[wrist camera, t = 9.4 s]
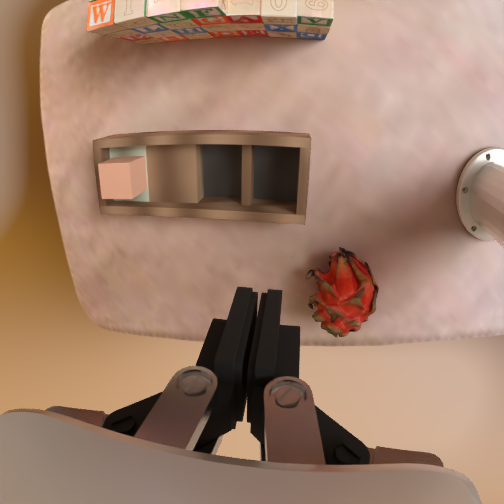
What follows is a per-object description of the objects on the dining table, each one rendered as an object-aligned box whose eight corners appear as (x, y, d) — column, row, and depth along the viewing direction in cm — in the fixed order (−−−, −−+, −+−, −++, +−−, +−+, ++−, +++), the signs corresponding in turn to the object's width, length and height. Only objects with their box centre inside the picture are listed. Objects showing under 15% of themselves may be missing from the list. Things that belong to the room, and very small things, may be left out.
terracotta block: (145, 155, 34) (129, 162, 31) (147, 189, 36) (132, 199, 33) (115, 156, 35) (98, 163, 31) (118, 188, 37) (101, 198, 33)
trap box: (309, 133, 34) (311, 138, 30) (304, 209, 38) (304, 224, 34) (114, 134, 37) (92, 140, 32) (119, 201, 41) (100, 213, 36)
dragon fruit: (331, 313, 46) (333, 233, 42) (384, 328, 40) (392, 242, 37) (296, 339, 40) (294, 249, 37) (355, 361, 34) (362, 262, 31)
